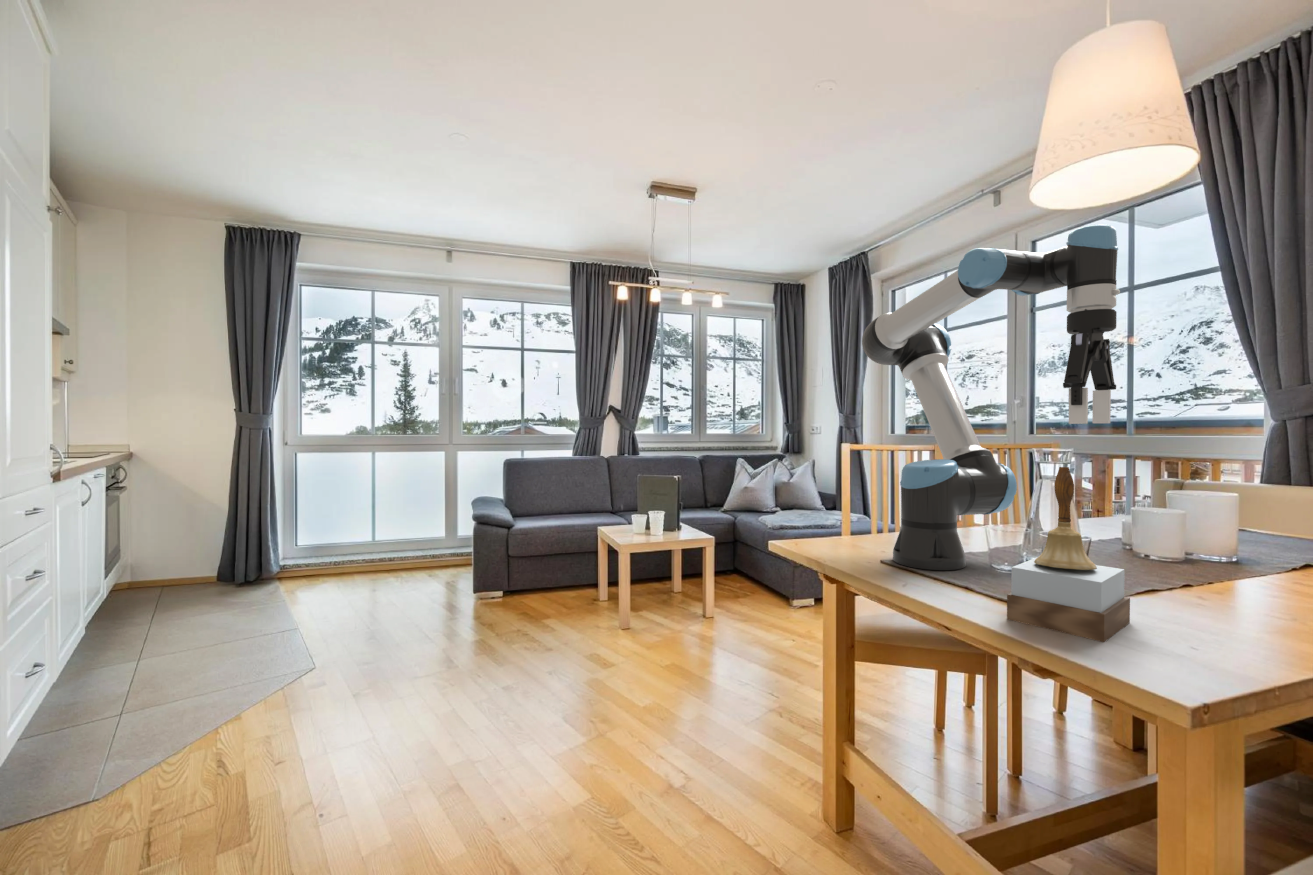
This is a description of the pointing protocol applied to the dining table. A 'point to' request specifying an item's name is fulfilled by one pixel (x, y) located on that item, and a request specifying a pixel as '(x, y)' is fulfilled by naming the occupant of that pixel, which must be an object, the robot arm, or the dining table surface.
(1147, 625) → the dining table surface
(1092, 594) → the top block
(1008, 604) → the bottom block
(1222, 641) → the dining table surface
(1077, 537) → the hand bell
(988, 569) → the dining table surface
